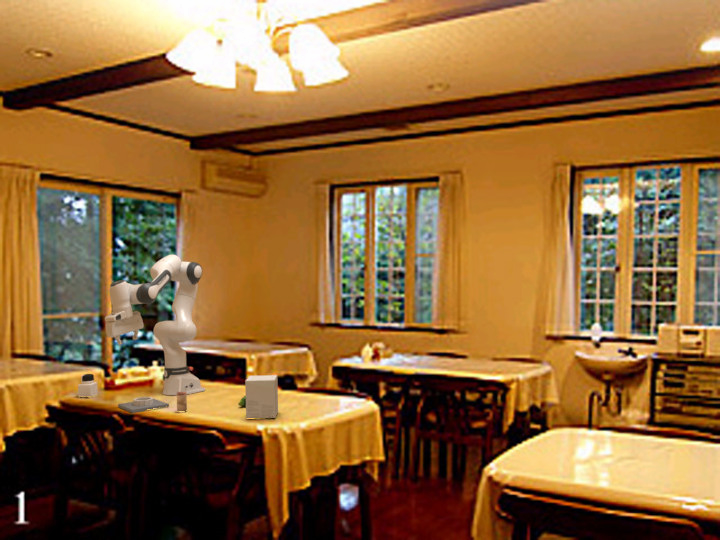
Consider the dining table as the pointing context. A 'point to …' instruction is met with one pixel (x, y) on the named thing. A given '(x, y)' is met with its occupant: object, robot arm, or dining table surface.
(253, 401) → the supplement box
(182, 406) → the oak peg
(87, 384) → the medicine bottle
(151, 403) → the ring collar board
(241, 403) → the vegetable
